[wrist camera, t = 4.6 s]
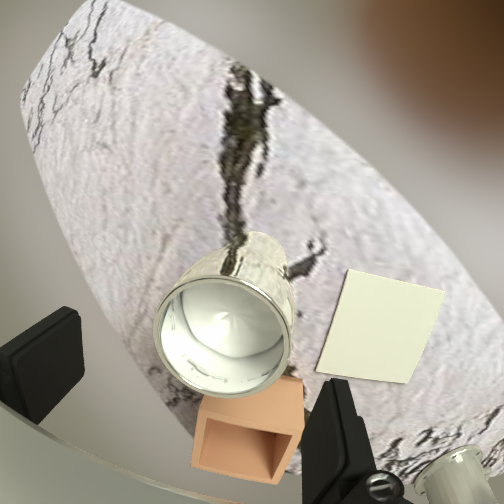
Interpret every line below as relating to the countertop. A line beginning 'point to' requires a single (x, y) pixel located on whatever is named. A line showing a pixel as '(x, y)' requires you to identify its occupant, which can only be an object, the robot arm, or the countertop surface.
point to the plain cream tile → (379, 328)
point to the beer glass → (229, 319)
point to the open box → (250, 432)
